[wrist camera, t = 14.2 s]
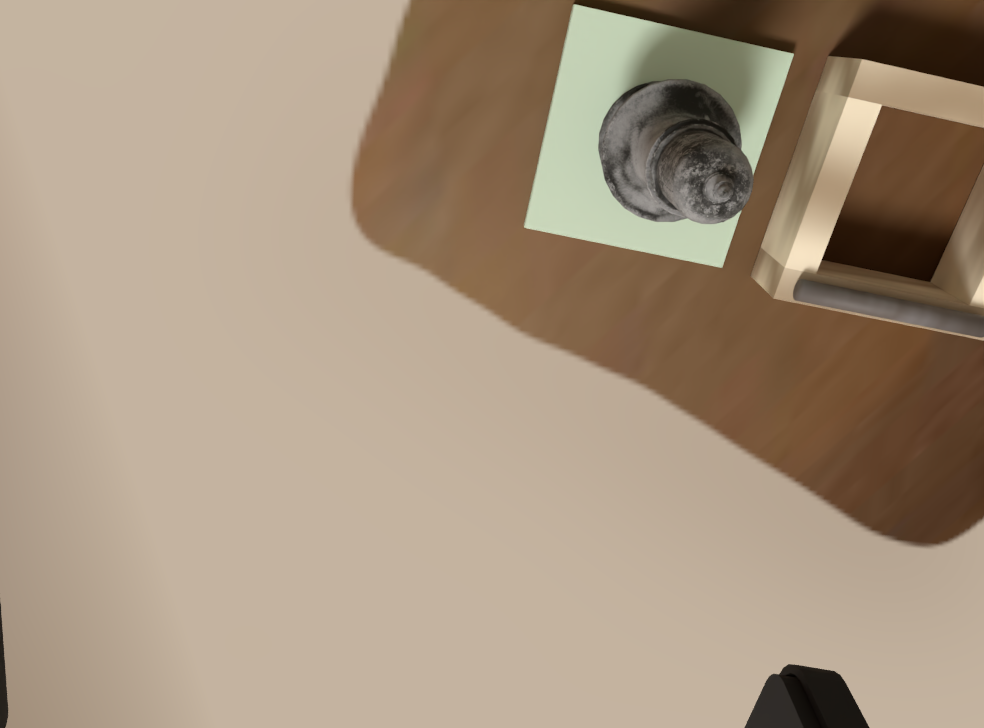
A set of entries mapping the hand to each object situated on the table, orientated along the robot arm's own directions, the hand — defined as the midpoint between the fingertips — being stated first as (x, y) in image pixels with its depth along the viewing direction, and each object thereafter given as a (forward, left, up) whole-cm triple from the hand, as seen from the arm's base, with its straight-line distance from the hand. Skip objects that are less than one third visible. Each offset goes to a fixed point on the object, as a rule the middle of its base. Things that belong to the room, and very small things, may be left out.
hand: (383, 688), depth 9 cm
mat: (-4, +8, -30) cm, 32 cm away
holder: (-4, +20, -30) cm, 37 cm away
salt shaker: (-4, +8, -30) cm, 31 cm away
